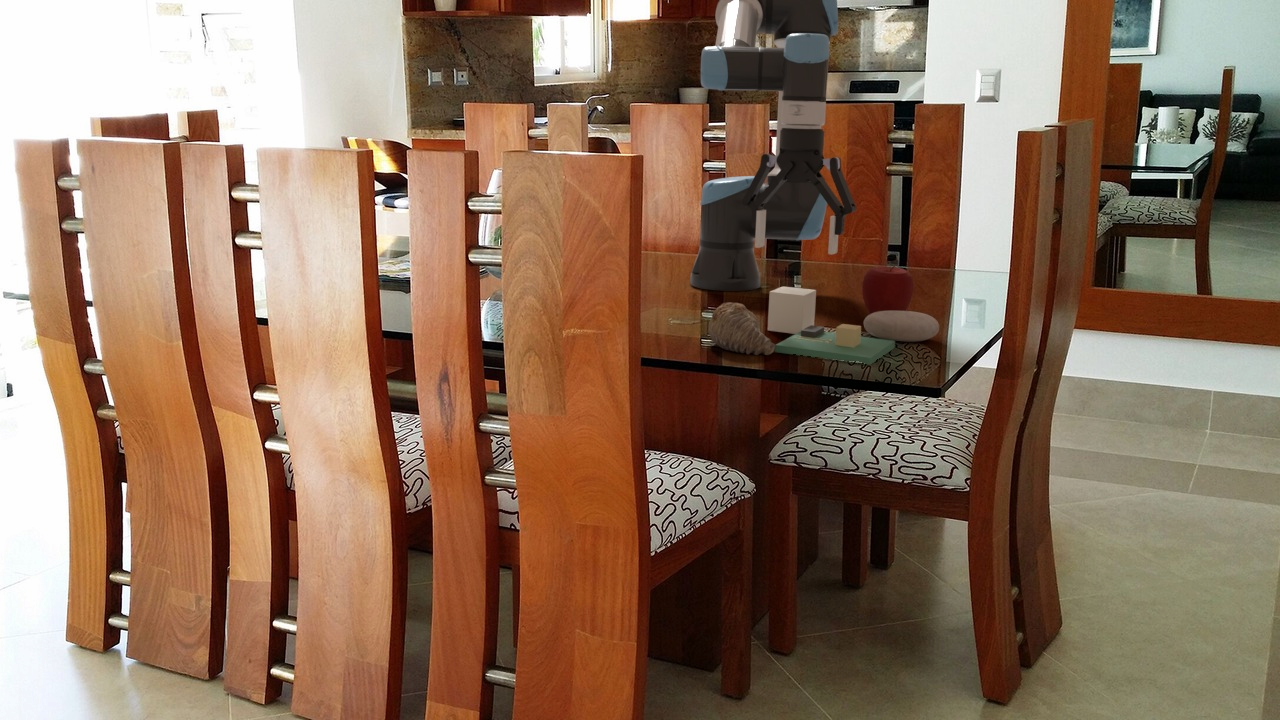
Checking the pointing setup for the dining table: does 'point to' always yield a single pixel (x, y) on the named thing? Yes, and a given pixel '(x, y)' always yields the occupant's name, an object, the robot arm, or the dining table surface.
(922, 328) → the decorative stone
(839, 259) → the dining table surface
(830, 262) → the dining table surface
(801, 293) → the plug
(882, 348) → the board
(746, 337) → the seashell
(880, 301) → the apple
